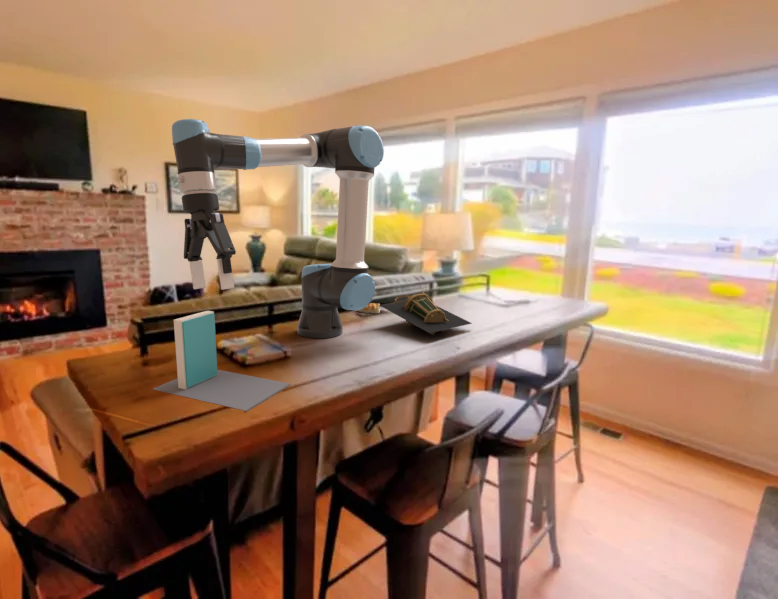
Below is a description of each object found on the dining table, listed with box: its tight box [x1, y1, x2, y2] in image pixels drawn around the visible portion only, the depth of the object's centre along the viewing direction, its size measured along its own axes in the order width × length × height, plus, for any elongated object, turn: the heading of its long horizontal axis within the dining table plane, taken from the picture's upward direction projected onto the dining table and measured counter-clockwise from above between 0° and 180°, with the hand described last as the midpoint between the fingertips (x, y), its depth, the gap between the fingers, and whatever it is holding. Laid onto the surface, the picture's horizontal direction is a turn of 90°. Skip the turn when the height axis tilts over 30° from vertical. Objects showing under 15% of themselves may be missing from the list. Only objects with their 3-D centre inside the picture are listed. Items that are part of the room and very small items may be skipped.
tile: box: [173, 310, 218, 389], centre depth 106 cm, size 2×10×16 cm, turn 158°
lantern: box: [379, 289, 473, 336], centre depth 162 cm, size 14×23×30 cm
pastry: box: [357, 302, 381, 315], centre depth 185 cm, size 9×7×4 cm
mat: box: [152, 368, 291, 413], centre depth 105 cm, size 26×16×1 cm, turn 68°
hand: (213, 288), depth 104 cm, fingers open, 13 cm apart
